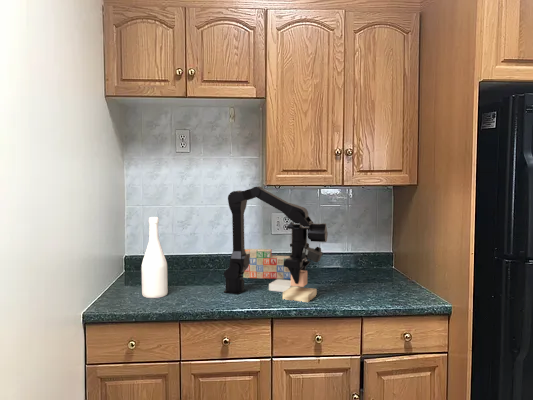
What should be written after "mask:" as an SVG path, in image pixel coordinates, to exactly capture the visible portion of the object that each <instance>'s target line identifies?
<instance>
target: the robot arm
mask: <svg viewBox="0 0 533 400" xmlns="http://www.w3.org/2000/svg"><path fill="white" fill-rule="evenodd" d="M253 199H258V200H261V201H262V202H264V203H266V204H268V205H269V206H271V207H272V208H274V209H276V210H278V211H280V212H281V213H283V215H285V217H286V218H288V219H289V220H290V222H289V224H288V225H287V226H286V227H285V228H286V229H287V230H288V229H289V230H291V243H290V244H289V247H290V248H291V253H290V254H289V256H290V258H287V259H286V260H285V261H284V267H287V268H288V269H289V271H290V273H291V275H292V277H293V279H294V282H295V283H296V284H298V282H299V277H300V270H305V271H306V269H307V266H309V264H311V261H313V262H314V263H319V261H321V258H322V256H323V251H322V248H321V247H319V246H317V247H315V248H313V247H310V243H309V242H308V240H309V241H310V242H317V243H327V241H328V233H329V232H328V228H327V223H326V222H323V223H314V222H313V220H312V219H311V217H310V216H309V211H308V210H307V208H305V207H303V206H301V205H298V204H294V203H290V202H288V201H286V200H284V199H283V198H280V197H279V196H277V195H275V194H273V193H271V192H269V190H266V189H264V188H263V187H262V186H253V187H252V188H248V189H245V190H233V191H231V192H230V193H229V194H228V196H227V202H228V207H229V210H230V213H231V216H232V218H231V219H232V220H231V221H232V223H231V224H232V251H231V252H232V253H231V256H230V259H229V267H227V269H225V271H223V276H224V278H225V290H223V293H226V294H227V293H228V294H235V295H236V294H237V295H240V294H241V293H243V292H244V291H246V289H245V279H244V278H243V274H244V271H245V270H246V269H247V268H248V266H249V264H250V261H249V258H250V254H246V252H245V249H246V248H245V211H246V209H247V205H248V201H249V200H253Z"/></svg>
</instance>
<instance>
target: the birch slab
mask: <svg viewBox="0 0 533 400" xmlns="http://www.w3.org/2000/svg"><path fill="white" fill-rule="evenodd" d="M317 293H318V290H317V288H311V287H305V286H304V287H300V286H298V287H295V286H292V287H290V288H289V289H287V290H286V291H284V292H282V300H284V299H285V301H286V300H287V301H293V300H294V302H301V301H302V303H309V302H310V300H311V301H312V300H313V299H314V298H315V297H317V296H318V295H317ZM316 295H317V296H316Z"/></svg>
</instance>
